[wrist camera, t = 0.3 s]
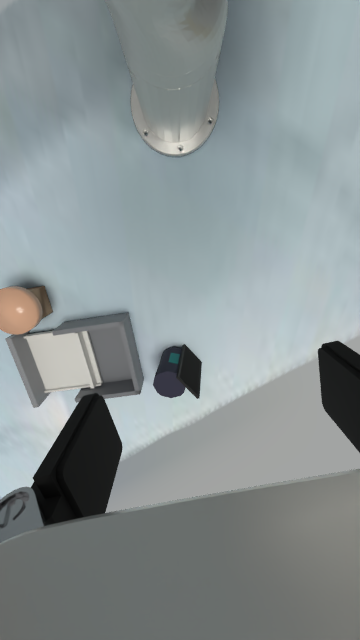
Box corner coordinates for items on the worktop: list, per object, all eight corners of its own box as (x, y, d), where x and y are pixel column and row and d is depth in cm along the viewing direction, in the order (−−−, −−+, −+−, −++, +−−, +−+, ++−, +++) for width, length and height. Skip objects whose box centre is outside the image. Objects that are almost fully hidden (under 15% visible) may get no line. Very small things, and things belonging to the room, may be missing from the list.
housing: (128, 312, 47) (122, 321, 42) (143, 379, 52) (140, 394, 47) (64, 321, 48) (51, 331, 43) (85, 387, 52) (75, 402, 48)
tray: (86, 319, 47) (76, 328, 43) (105, 384, 52) (97, 399, 47) (22, 328, 48) (5, 338, 43) (46, 392, 52) (33, 407, 48)
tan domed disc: (-12, 289, 41) (-21, 292, 39) (33, 282, 40) (26, 285, 38) (5, 332, 43) (-3, 337, 41) (48, 326, 43) (42, 331, 41)
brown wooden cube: (17, 289, 46) (-1, 296, 41) (44, 285, 45) (28, 291, 41) (27, 315, 47) (10, 324, 43) (52, 311, 47) (38, 320, 42)
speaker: (192, 338, 48) (189, 369, 39) (201, 362, 50) (202, 397, 41) (156, 349, 50) (145, 381, 41) (167, 372, 52) (159, 408, 43)
